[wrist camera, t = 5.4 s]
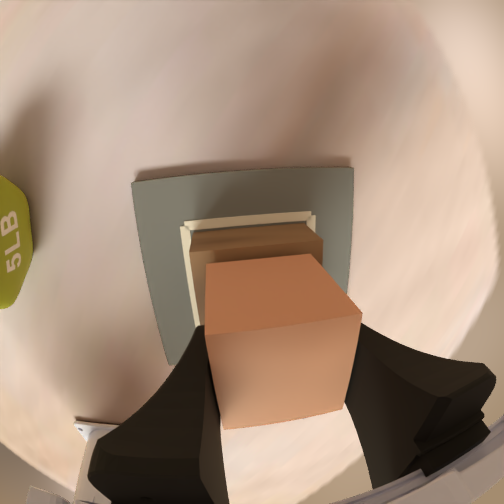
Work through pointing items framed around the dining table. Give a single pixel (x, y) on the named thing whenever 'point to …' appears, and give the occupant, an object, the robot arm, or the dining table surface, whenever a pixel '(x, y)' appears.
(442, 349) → the dining table surface
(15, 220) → the dumbbell
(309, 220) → the grey square base plate
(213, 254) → the base block
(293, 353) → the top block
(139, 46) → the dining table surface
